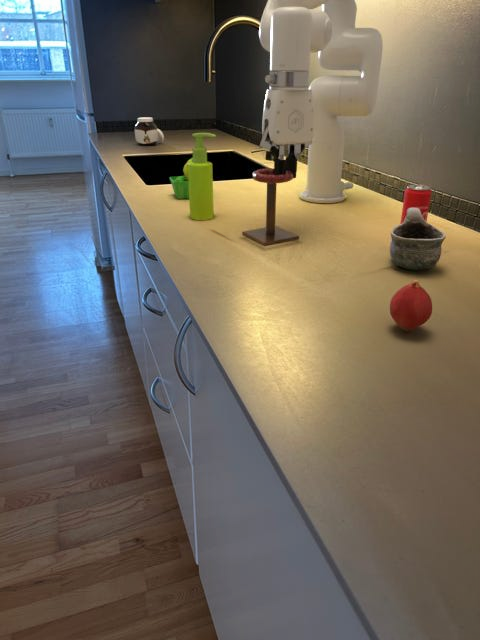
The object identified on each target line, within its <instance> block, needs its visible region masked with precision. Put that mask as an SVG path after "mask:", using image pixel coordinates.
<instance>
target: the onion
mask: <svg viewBox="0 0 480 640" xmlns="http://www.w3.org/2000/svg"><path fill="white" fill-rule="evenodd" d="M432 313H433V301H432V298H431V295H430V294H429V293H428V292H427V290H426V289H425V288H424V287H423V286H421V285H420V281H419V280H417V279H416V280H415V279H414V280H412V281H411V282H410V283H408V284H406V285H404V286H402V287H400V289H398V290H397V291H396V292H395V293H394V294H393V296H391V299H390V302H389V314H390V317H391V318H392V319H393V321H394V322H395V323H396V324H397V325H398V326H399V327H400V328H402V330H403V331H404V332H412V331H414V330H415V329H417V328H418V327H421V326H422V325H424V324H426V323H427V322H428V321H429V320H430V318H431V316H432Z"/></svg>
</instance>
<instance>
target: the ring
mask: <svg viewBox="0 0 480 640" xmlns="http://www.w3.org/2000/svg"><path fill="white" fill-rule="evenodd" d="M251 176H252V179H253V181H255V182H258V183H262V184H263V183H264V184H267V183H277V184H285V183H288V182H290V181H292V180H293V179H294V178H293V174H292V172H291V171H288V170H286V174H282V175H274V167H273V168H259V169H257V170H254V171H253V172H252V174H251Z"/></svg>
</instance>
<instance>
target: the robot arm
mask: <svg viewBox="0 0 480 640" xmlns="http://www.w3.org/2000/svg"><path fill="white" fill-rule="evenodd" d="M319 7H321V9H318V8H319ZM357 11H358V7H357V2H356V0H267V2H266V4H265V7H264V9H263V13H262V15H261V19H260V21H259V22H260V23H259V30H258V36H259V43H260V45H261V47H262V48H263V49H264V50H265V51H266V52H269V53H270V54H269V55H270V56H269V57H270V58H269V63H270V64H269V74H266V75H265V77H264V81H265V83H267V84H268V86H269V89H266V92H265V93H266V94H265V98H264V103H263V112H262V121H261V123H262V124H261V125H262V126H261V136H262V138H261V140H260V144H259V148H261V149H262V150H265V151H267V152H268V153H269V154H270V156H271V158H272V159H273V168H274V175H282V174H286V170H288V171H291V172H292V174H293V179H296V178H297V171H298V159H300V157H301V154H302V153H303V151H304V150H305V148H308V151H307V152H308V155H307V171H306V187H305V190H303V191H301V193H300V199H301V200H303V201H305V202H310V203H315V204H336V203H340V202H343V201H345V200H346V194H345V193H344V191H345V190H353V188H354V183H353V182H352V181H348V182H344V181H342V174H343V164H344V163H343V162H344V152H345V151H344V150H345V140H346V133H345V129H344V127H343V124H342V123H341V122H340V119H338V117H367V116H370V115H371V114H372V113H373V112H374V110H375V107H376V103H377V98H378V90H379V81H380V73H381V65H382V60H383V59H382V58H383V47H384V46H383V45H384V44H383V37H382V33H381V31H380V30H378V29H377V28H374V27H356V20H357V19H356V18H357ZM312 53H317V55H318V57H317V58H318V64H319V66H320V68H322V69H324V70H329V71H358V72H360V75H333V74H332V75H330V74H329V75H321V76H318V77H316V78H314V79H313V80H312V81H311V83H310V84H309V80H310V79H309V78H310V63H311V54H312ZM286 145H288V146H287V155H288V156H285V146H286Z"/></svg>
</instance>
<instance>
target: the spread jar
mask: <svg viewBox="0 0 480 640" xmlns="http://www.w3.org/2000/svg"><path fill="white" fill-rule="evenodd" d="M134 138H135V142H136V144H138V145H139V146H141V147H151V146H152V147H153V146H155V145H156V144H162V143H163V142H164V141H165V135H164V133H163V131H162V130H161V129H159V128H158V126H157V125H156V123H155V122H154V118H153V117H150V116H148V117H147V116H146V117H145V116H144V117H138V118H137V123H136V124H135V126H134Z"/></svg>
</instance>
